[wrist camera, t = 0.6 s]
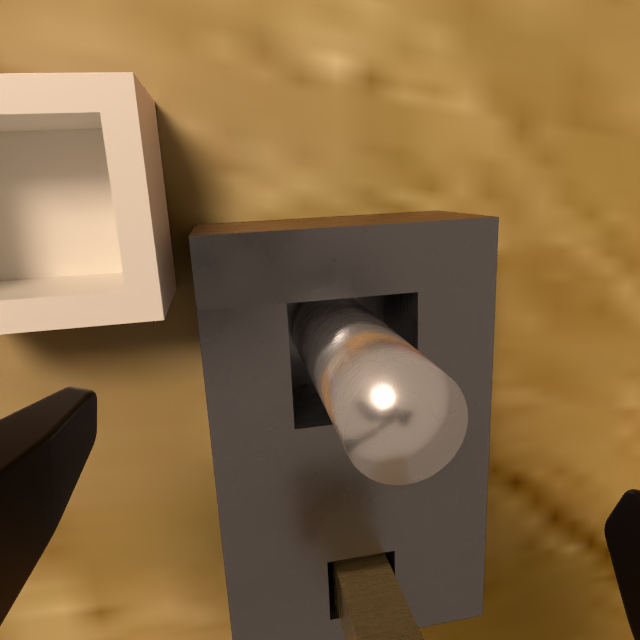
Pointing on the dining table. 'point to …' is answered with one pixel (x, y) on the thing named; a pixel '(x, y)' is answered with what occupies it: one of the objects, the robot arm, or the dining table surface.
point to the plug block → (372, 600)
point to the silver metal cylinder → (380, 392)
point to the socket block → (316, 426)
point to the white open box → (81, 203)
